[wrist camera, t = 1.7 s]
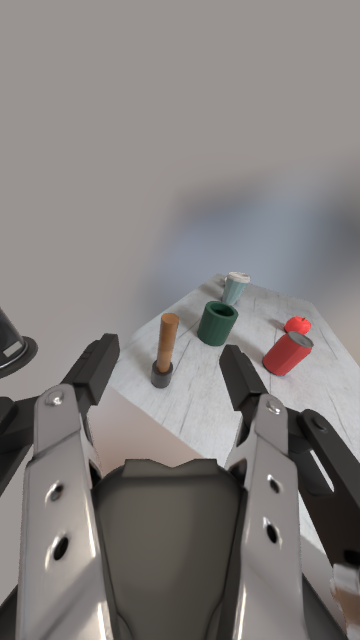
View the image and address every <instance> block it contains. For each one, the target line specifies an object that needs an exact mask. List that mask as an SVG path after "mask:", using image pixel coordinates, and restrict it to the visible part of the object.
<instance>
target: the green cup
mask: <svg viewBox="0 0 360 640" xmlns="http://www.w3.org/2000/svg"><path fill="white" fill-rule="evenodd" d="M237 317H238V312H237V311H236V309H234V308H233V307H232V306H230V305H228V304H226V303H223V302H219V301H210V302H208V303H207V304H206V306H205V309H204V312H203V315H202V318H201V322H200V325H199V328H198V331H197V335H198V337H199V338H200V340H201V341H203V342H204V343H206V344H208V345H211V346H220V345H222V344H224V342H225V340H226V338H227V336H228V335H229V333H230V331H231V329H232V327H233V325H234V323H235V321H236V319H237Z"/></svg>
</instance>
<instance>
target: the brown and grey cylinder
mask: <svg viewBox="0 0 360 640" xmlns="http://www.w3.org/2000/svg"><path fill="white" fill-rule="evenodd" d="M178 323H179V317H178V316H177V315H175V314H173V313H165V314H163V315H162V317H161V325H160V335H159V344H158V354H157V360H156V361H155V362H154V363H153V366H152V378H151V381H152V384H153V385H154V386H155V387H157V388H165V387H166V386H168V384H169V383H170V379H171V375H172V371H173V365H172V363H171V357H172V352H173V347H174V342H175V338H176V333H177V328H178Z"/></svg>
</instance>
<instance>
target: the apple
mask: <svg viewBox="0 0 360 640" xmlns="http://www.w3.org/2000/svg"><path fill="white" fill-rule="evenodd" d="M284 328H285V330H286V331H287V333H288V332H289V331H295V332H298V333H301V334H303V335H304V334H306V333H307V332H308V331H309V329H310V328H311V323H310V322H309V321H308V320H306V319H305V318H302V317H297V316H295V317H292V318H291V319H290V320H289V321H287V323H286V325H285V327H284Z"/></svg>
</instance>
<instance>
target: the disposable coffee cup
mask: <svg viewBox="0 0 360 640" xmlns="http://www.w3.org/2000/svg"><path fill="white" fill-rule="evenodd" d="M249 282H250V276H249V275H247V274H244V273H238V272H230V273H228V275H227V279H226V283H225V288H224V292H223V297H222V302H223V303H226V304H228V305H234V304H235V302H236V301H237V299H238V298H239V296H240V295H241V293H242V292H243V290H244V289H245V287H246V286H247V284H248V283H249Z"/></svg>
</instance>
